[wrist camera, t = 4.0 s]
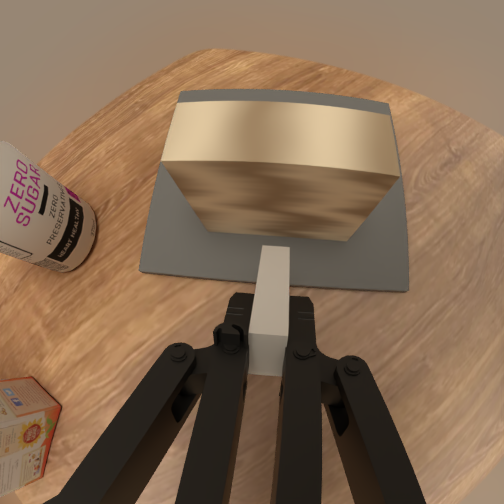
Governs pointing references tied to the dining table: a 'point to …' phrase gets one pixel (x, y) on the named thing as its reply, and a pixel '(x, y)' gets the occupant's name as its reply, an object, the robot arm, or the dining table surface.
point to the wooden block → (281, 166)
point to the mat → (301, 249)
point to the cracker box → (24, 431)
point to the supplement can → (41, 215)
